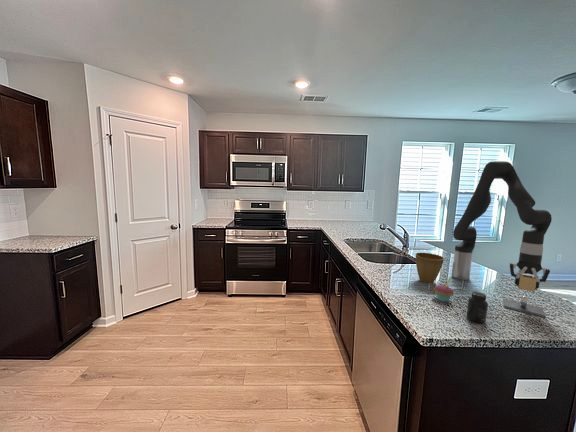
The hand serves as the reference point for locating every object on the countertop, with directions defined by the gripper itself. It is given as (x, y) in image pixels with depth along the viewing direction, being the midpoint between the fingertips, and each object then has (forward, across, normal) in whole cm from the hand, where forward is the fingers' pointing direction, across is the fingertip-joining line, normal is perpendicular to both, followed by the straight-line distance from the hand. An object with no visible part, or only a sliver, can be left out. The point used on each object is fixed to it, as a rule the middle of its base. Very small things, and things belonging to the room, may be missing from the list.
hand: (526, 287), depth 118 cm
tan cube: (+1, 0, 0) cm, 1 cm away
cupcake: (+11, -31, -15) cm, 36 cm away
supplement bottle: (+11, -17, -29) cm, 35 cm away
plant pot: (+11, -42, +7) cm, 44 cm away
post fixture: (+11, 0, 0) cm, 11 cm away
